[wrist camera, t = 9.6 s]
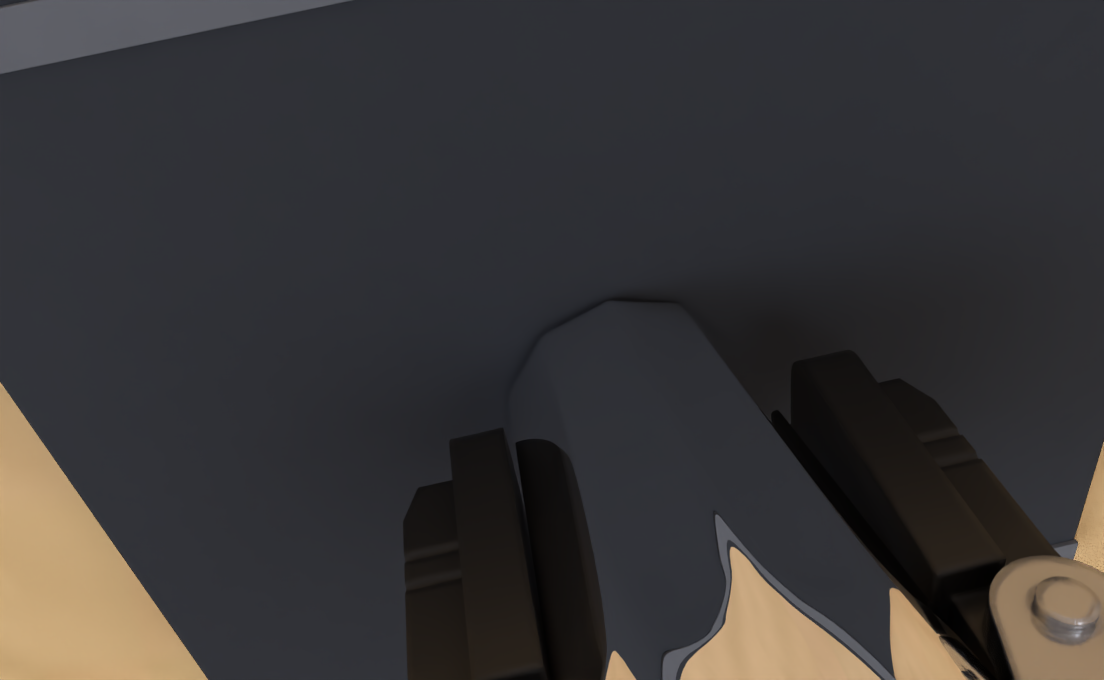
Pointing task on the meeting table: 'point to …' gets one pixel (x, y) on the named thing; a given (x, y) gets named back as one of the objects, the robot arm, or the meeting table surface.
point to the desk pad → (512, 254)
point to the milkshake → (699, 521)
